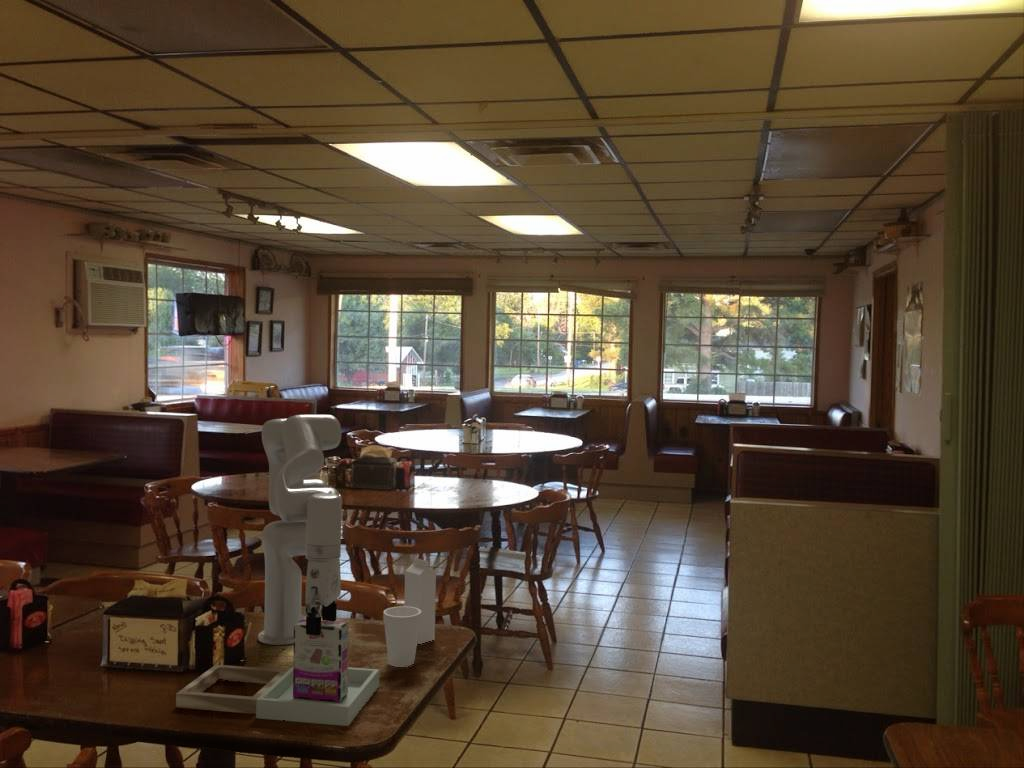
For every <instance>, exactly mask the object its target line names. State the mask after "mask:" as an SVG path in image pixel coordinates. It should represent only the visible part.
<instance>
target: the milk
mask: <svg viewBox="0 0 1024 768" xmlns="http://www.w3.org/2000/svg"><path fill="white" fill-rule="evenodd" d="M436 581H437V571H436V570H435V569H432V567H429V561H428V560H425V559H421V558H417V557H413V559H412V564H410V565H409V566H408V568H406V570H404V599H403V600H404V601H403V603H404V604H403V606H407V607H414V608H418V609H420V610H421V623H420V627H419V634H418V641H417V644H421V645H423V644H422V643H425V642H428V641H431V642H433V641H432V640H434V641H435V638H436V636H435V634H436V633H435V631H436V627H435V626H436V595H437V594H436V591H437V589H436V586H437V582H436ZM428 643H429V642H428ZM425 644H426V643H425Z"/></svg>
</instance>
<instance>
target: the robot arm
mask: <svg viewBox="0 0 1024 768" xmlns="http://www.w3.org/2000/svg"><path fill="white" fill-rule="evenodd" d="M341 440H342V428H341V423H340V421H339V420H338V418H337V417H336V416H334V415H332V414H295V415H291V416H289V417H288V418H284V417H283V418H274V419H270V420H267V421H266V422H264V424H263V425H262V428H261V442H262V445H263V448H264V452H265V454H266V455H265V456H266V457H267V460H268V461H267V462H268V467H269V468H268V504H269V505H268V507H269V511H270V512H271V513H272V514H273V515H275V516H279V517H280V519H281V520H275V521H272V522H270V523H268V524H267V525H265V526H264V528H263V530H262V534H261V535H262V536H261V540H262V547H263V554H264V618H263V619H264V622H263V623H264V625H263V628H264V629H263V630H262V631H260V632H259V633H258V636H257V640H258V641H259V642H261V643H262V644H265V645H270V646H271V645H272V646H284V645H285V646H286V645H294V625H295V624H296V623H298V622H299V621H301V620H302V619H304V616H303V614H302V589H303V588H302V586H303V584H302V582H303V579H302V577H303V574H302V570H301V568H300V566H299V565H298V564H297V562H295V560H294V559H293V557H298V556H305V559H306V560H308V562H307V570H306V577H305V579H306V581H305V601H304V604H305V609H304V610H305V619H306V634H307V635H318V636H319V635H320V634H321V621H337V605H338V604H337V602H338V598H339V597H340V596H341V591H342V586H341V584H342V581H341V580H342V579H341V560H340V558H341V554H342V553H341V552H342V551H341V550H342V548H341V547H342V546H341V545H342V512H343V511H342V510H343V509H342V508H343V500H342V499H343V498H342V495H341V494H340V493H339V491H338V490H337V489H336V488H334V487H329V486H328V484H327V482H326V481H325V480H322V479H317V478H310V477H313V476H315V475H317V473H318V472H320V471H321V469H322V468H323V466H324V464H325V456H324V452H323V451H328V450H333V449H336V448H337V447H338V446H339V445H340V443H341ZM309 478H310V479H309Z"/></svg>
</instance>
